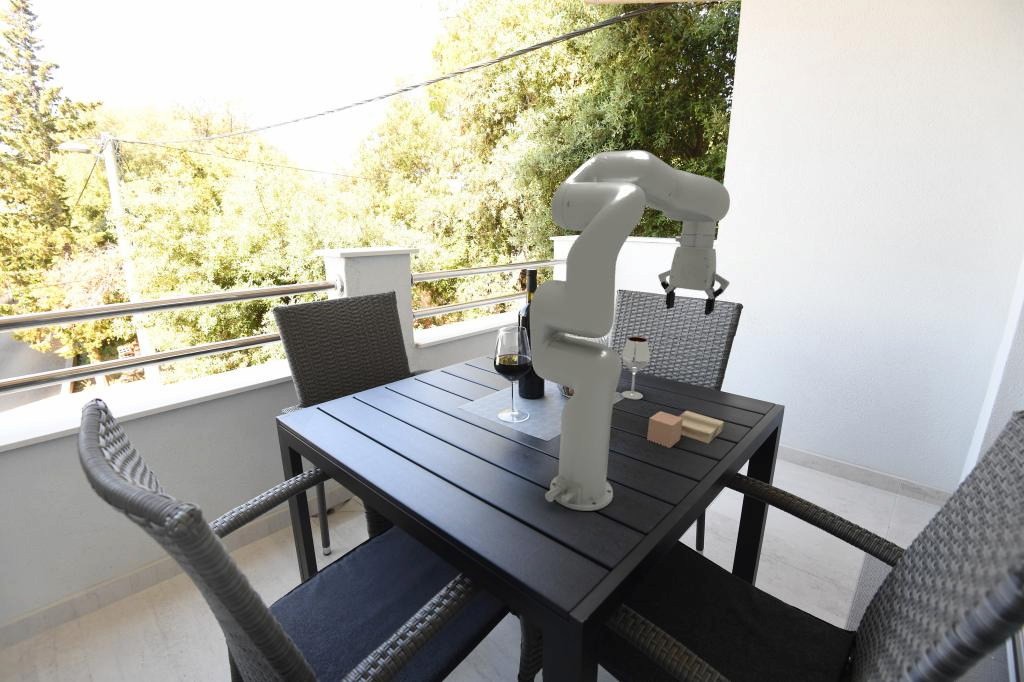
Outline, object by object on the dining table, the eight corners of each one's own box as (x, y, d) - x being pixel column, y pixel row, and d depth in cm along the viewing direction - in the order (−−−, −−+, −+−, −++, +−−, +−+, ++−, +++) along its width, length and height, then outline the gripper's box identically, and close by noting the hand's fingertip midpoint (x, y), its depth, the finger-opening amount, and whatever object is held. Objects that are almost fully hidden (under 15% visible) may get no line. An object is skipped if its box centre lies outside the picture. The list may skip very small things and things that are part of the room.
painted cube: (669, 448, 117) (672, 425, 116) (647, 440, 121) (649, 418, 119) (680, 440, 122) (682, 418, 120) (657, 432, 125) (660, 411, 124)
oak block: (708, 445, 120) (709, 434, 119) (669, 432, 126) (671, 421, 125) (722, 431, 127) (723, 421, 126) (685, 420, 134) (686, 410, 133)
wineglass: (648, 401, 145) (654, 343, 140) (621, 400, 145) (626, 342, 140) (642, 391, 153) (647, 336, 148) (616, 390, 153) (621, 335, 148)
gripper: (656, 240, 120) (649, 308, 124) (729, 245, 109) (718, 319, 114) (669, 239, 125) (662, 304, 130) (739, 243, 115) (728, 314, 119)
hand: (688, 311), depth 122 cm, fingers open, 9 cm apart
